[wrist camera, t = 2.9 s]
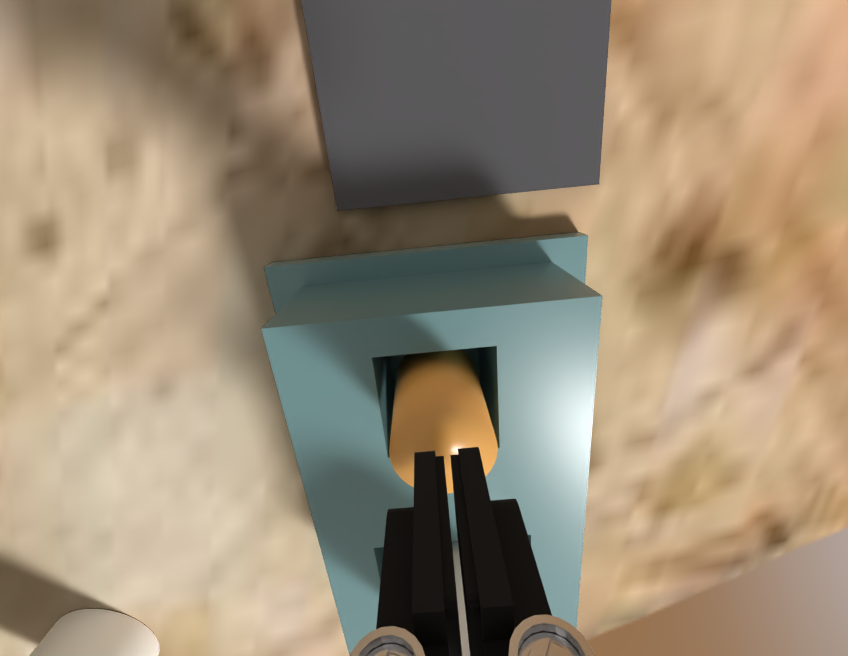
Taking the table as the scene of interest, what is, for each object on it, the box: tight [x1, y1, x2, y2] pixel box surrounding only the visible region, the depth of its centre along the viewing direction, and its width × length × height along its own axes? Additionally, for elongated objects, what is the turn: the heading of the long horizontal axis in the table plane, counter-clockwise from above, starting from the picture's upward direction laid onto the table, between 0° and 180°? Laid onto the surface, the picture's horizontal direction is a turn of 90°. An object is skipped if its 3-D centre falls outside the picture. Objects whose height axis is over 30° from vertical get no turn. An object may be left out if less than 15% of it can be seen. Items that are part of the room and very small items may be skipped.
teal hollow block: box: [261, 232, 602, 655], centre depth 19 cm, size 21×14×6 cm, turn 5°
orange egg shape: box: [389, 349, 498, 494], centre depth 14 cm, size 3×3×4 cm
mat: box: [301, 0, 611, 211], centre depth 15 cm, size 11×11×1 cm
